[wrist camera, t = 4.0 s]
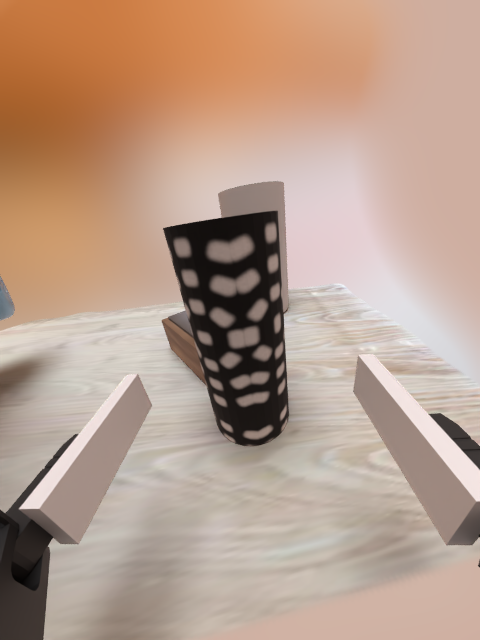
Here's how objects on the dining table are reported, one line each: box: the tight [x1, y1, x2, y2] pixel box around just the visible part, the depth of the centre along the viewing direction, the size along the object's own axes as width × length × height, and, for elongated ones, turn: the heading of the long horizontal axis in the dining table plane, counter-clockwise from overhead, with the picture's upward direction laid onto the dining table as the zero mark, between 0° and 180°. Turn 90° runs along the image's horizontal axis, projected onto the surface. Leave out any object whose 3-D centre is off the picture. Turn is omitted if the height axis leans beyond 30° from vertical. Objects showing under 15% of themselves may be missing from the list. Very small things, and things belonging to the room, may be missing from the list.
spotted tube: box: [163, 211, 289, 446], centre depth 19 cm, size 8×8×20 cm
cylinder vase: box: [218, 181, 289, 312], centre depth 44 cm, size 12×12×25 cm
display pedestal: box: [162, 311, 206, 384], centre depth 36 cm, size 14×14×6 cm
